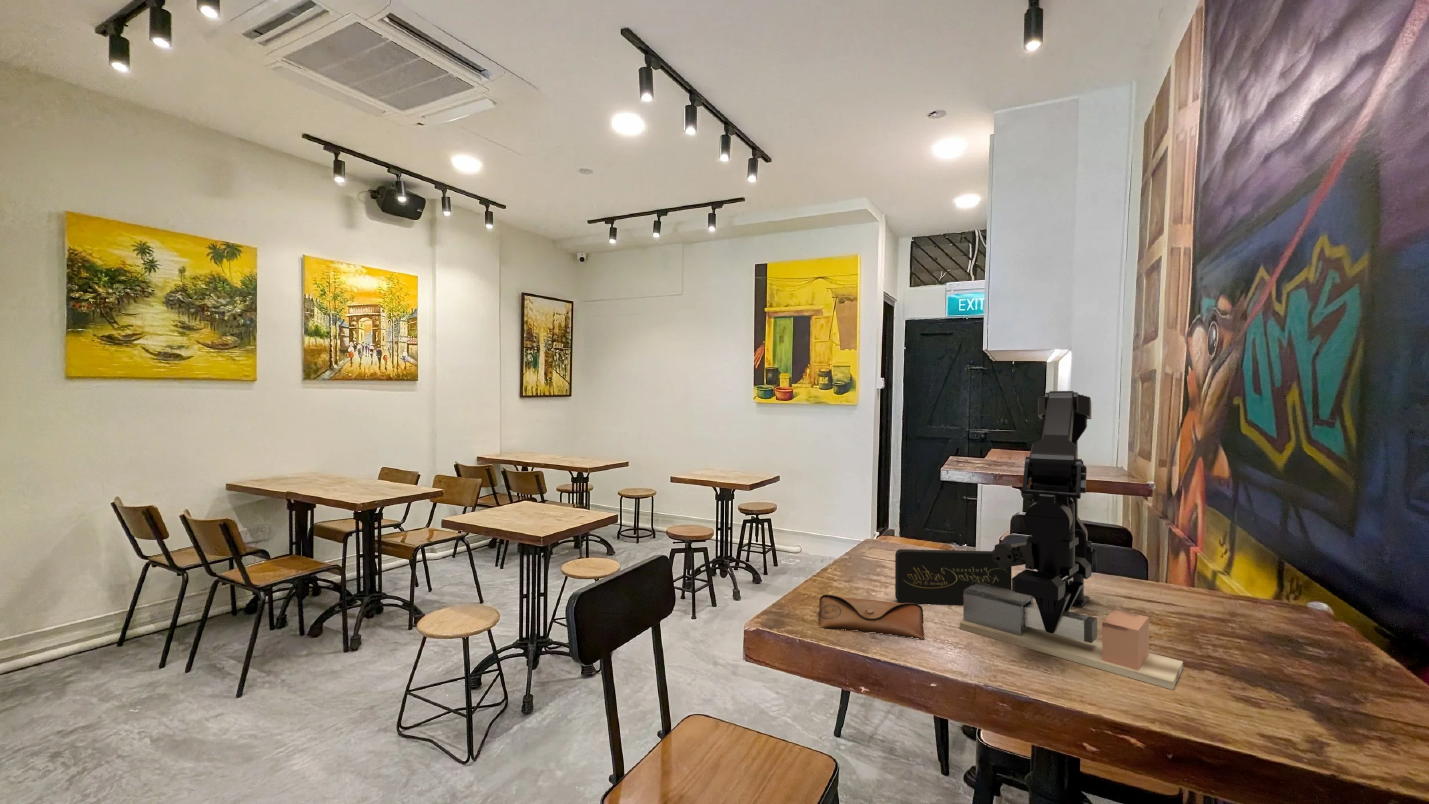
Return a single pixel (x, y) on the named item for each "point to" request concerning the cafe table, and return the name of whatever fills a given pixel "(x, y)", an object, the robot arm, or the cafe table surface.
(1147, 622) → the terracotta socket
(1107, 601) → the cafe table surface
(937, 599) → the nameplate
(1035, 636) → the base board
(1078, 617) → the silver rectangular bar
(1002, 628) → the grey sleeve
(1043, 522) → the robot arm
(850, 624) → the sunglasses case
